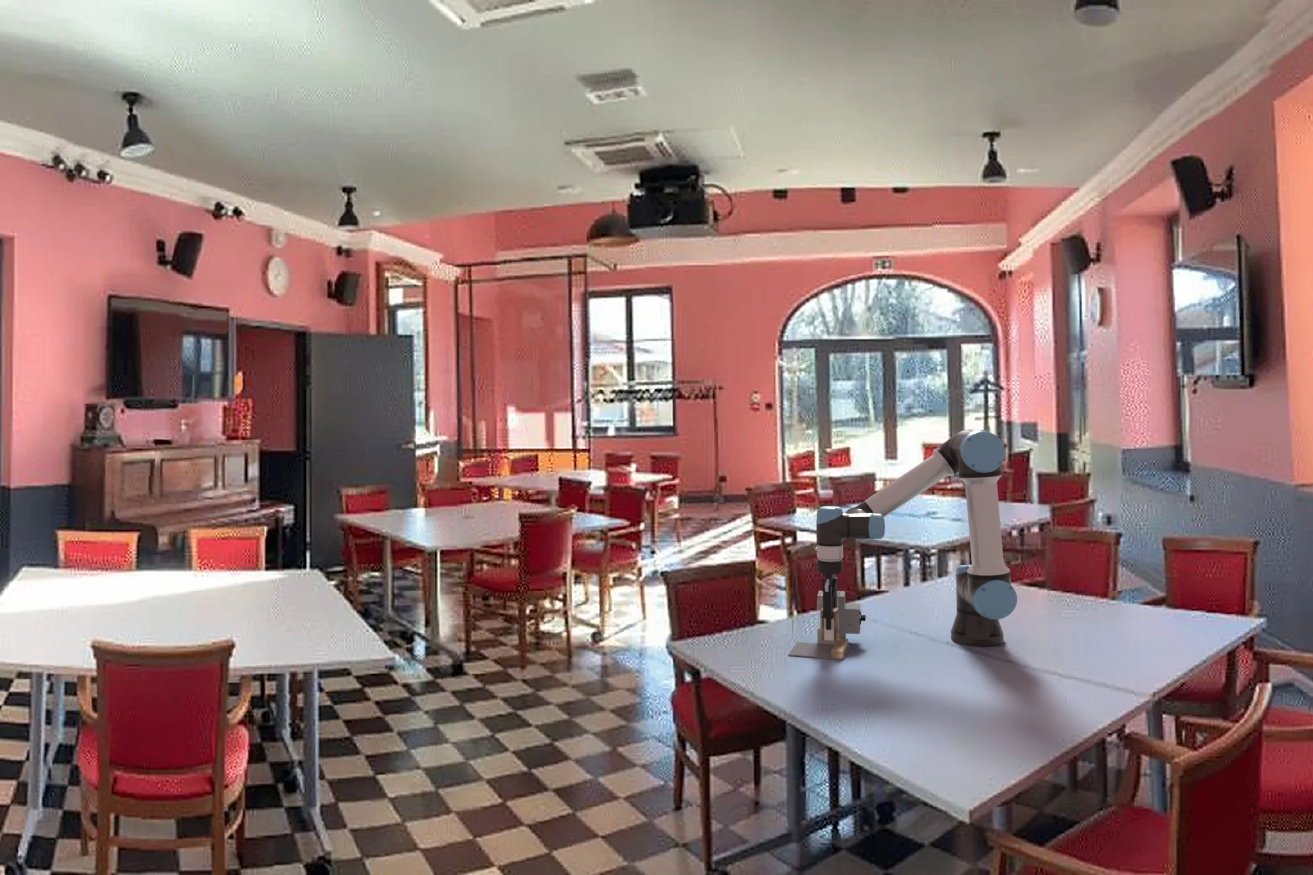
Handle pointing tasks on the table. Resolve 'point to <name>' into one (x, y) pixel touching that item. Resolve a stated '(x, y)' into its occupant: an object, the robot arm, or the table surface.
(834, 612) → the block
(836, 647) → the ledge
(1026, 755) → the table surface
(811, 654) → the mat
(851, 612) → the circuit breaker
